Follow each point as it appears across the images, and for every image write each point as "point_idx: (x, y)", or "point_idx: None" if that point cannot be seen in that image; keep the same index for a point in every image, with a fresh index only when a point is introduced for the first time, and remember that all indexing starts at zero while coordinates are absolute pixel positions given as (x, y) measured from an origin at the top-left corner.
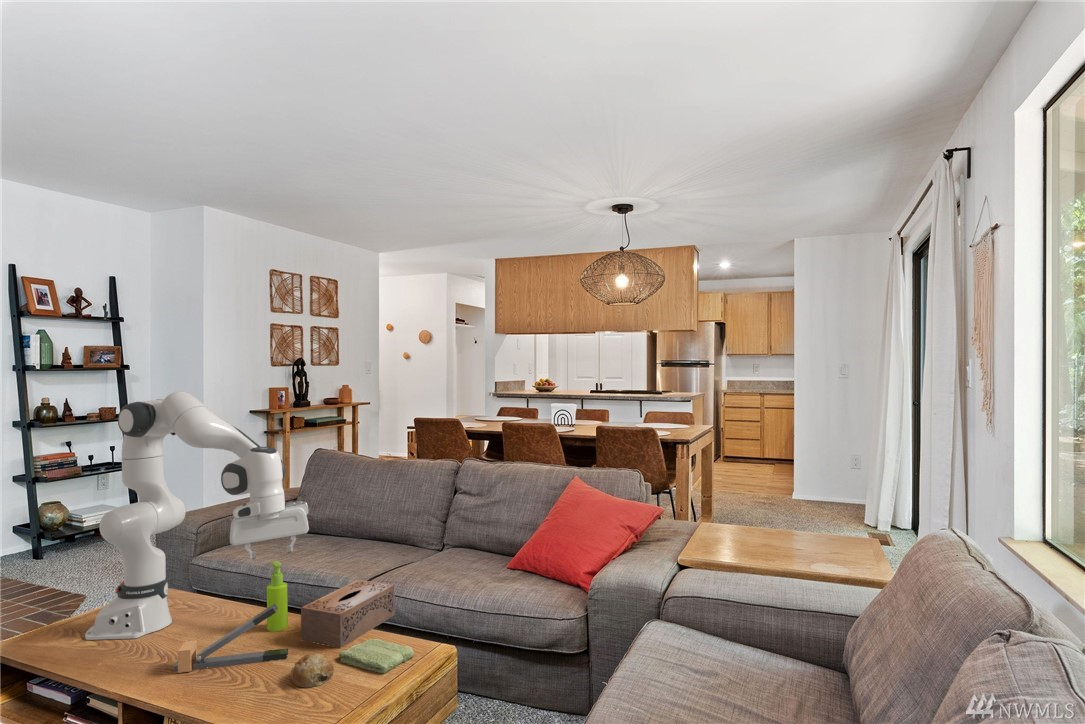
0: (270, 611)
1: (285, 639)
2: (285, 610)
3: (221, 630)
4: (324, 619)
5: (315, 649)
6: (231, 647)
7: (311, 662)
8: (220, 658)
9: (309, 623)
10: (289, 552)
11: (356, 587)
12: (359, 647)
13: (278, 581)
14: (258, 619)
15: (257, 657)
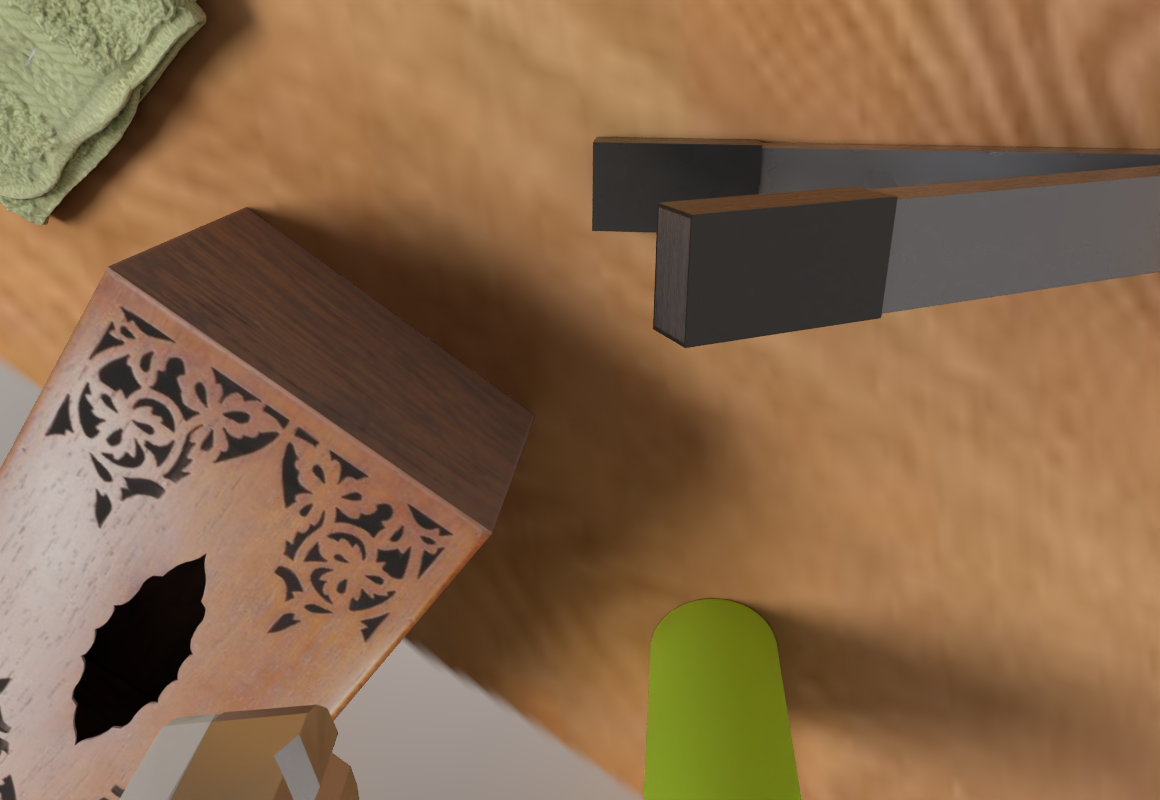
0: (716, 206)
1: (642, 464)
2: (657, 704)
3: (1067, 721)
4: (296, 354)
5: (417, 242)
6: (992, 448)
7: None
8: None
9: (444, 425)
10: (272, 711)
11: None
12: (58, 57)
13: None
14: (837, 197)
15: (800, 149)
